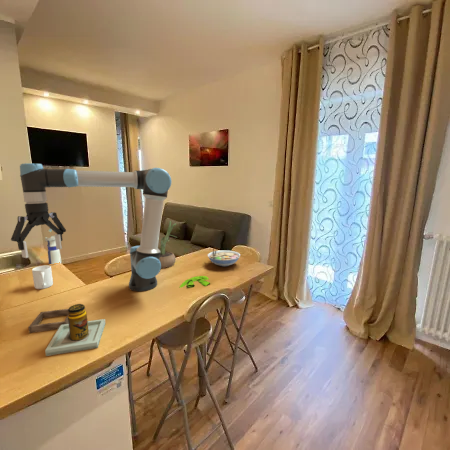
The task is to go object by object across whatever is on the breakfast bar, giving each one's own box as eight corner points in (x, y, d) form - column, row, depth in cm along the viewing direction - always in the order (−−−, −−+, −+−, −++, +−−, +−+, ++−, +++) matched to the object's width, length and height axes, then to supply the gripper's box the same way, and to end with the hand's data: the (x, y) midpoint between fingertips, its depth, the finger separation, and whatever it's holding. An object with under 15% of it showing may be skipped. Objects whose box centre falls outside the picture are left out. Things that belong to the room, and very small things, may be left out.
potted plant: (160, 271, 167) (158, 225, 162) (146, 265, 179) (143, 222, 174) (187, 262, 184) (186, 221, 178) (172, 257, 196) (171, 218, 190)
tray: (105, 323, 106) (104, 318, 106) (97, 347, 91) (97, 342, 91) (61, 329, 102) (61, 324, 102) (46, 356, 87) (45, 350, 87)
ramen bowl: (241, 271, 167) (241, 259, 165) (206, 271, 167) (205, 259, 166) (239, 259, 191) (239, 248, 190) (208, 259, 192) (208, 248, 190)
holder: (75, 313, 115) (74, 307, 115) (66, 327, 104) (66, 322, 103) (41, 317, 112) (40, 311, 111) (29, 333, 100) (28, 327, 100)
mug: (34, 293, 135) (31, 273, 133) (34, 285, 145) (32, 267, 143) (53, 289, 140) (51, 270, 138) (52, 282, 150) (50, 264, 148)
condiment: (86, 341, 94) (83, 310, 91) (60, 344, 92) (56, 313, 90) (92, 329, 101) (89, 301, 98) (68, 332, 99) (65, 303, 97)
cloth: (208, 275, 161) (208, 272, 160) (218, 289, 140) (218, 285, 140) (175, 279, 155) (175, 276, 154) (181, 295, 134) (181, 290, 134)
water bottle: (44, 264, 181) (40, 229, 176) (56, 260, 189) (52, 227, 184) (52, 265, 178) (48, 230, 173) (64, 262, 185) (60, 228, 181)
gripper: (60, 199, 117) (66, 244, 121) (-7, 205, 95) (3, 260, 99) (71, 200, 114) (76, 246, 118) (5, 205, 92) (14, 262, 96)
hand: (43, 252), depth 108 cm, fingers open, 13 cm apart
